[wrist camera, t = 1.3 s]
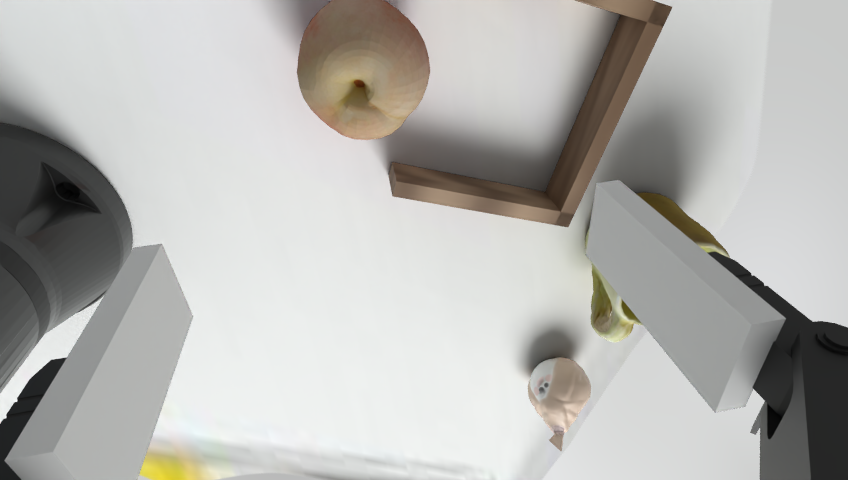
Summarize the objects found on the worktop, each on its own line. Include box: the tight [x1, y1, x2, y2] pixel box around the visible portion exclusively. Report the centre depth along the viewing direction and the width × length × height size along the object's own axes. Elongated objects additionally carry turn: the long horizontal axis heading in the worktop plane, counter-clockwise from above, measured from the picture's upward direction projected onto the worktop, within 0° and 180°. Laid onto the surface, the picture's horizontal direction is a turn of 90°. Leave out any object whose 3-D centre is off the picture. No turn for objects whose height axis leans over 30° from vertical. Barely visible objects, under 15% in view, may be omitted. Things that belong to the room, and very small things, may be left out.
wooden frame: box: [389, 0, 672, 227], centre depth 34 cm, size 14×16×4 cm
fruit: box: [297, 0, 430, 140], centre depth 29 cm, size 8×8×8 cm
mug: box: [585, 192, 730, 342], centre depth 41 cm, size 12×10×10 cm
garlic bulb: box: [528, 357, 591, 451], centre depth 49 cm, size 7×6×8 cm
